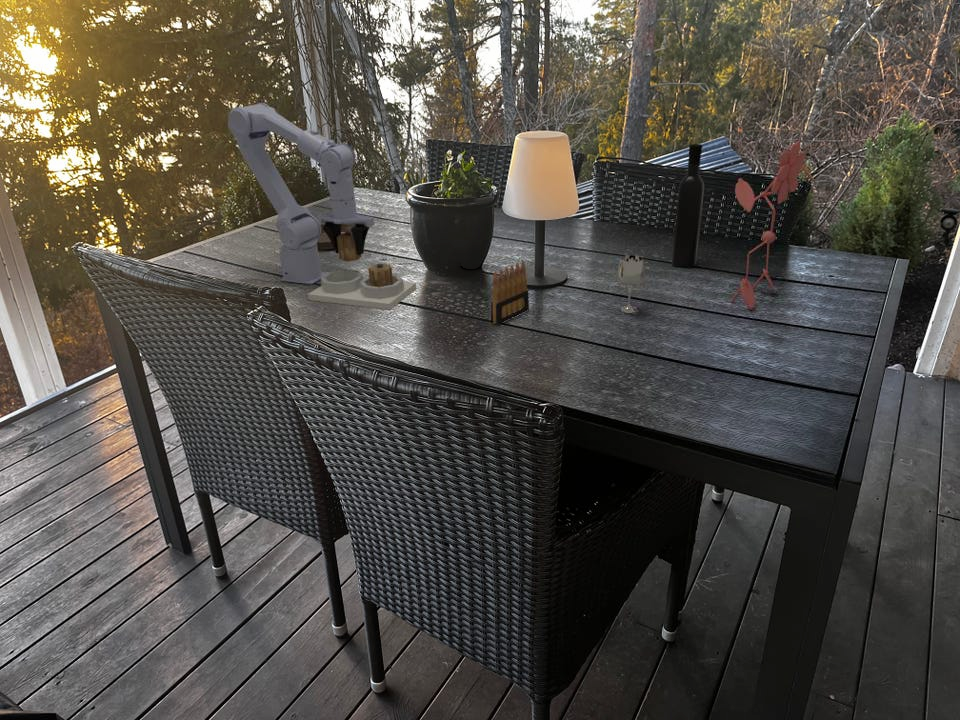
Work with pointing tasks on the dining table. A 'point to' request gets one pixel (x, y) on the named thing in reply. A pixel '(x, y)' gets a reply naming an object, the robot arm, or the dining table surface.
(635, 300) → the dining table surface
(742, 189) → the figurine
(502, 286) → the ammunition clip
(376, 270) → the seated gear
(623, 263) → the wineglass
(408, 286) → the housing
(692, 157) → the wine bottle
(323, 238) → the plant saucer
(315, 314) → the dining table surface
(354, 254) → the loose gear
